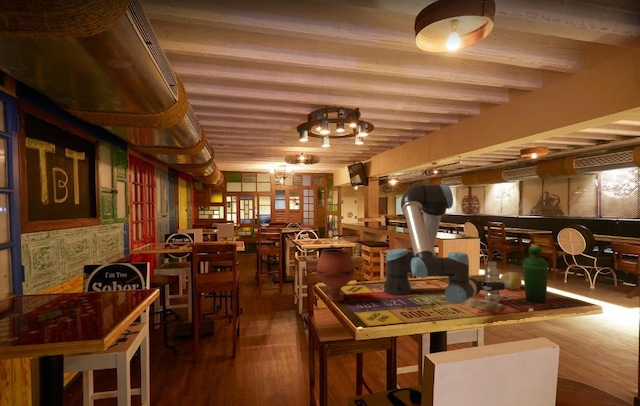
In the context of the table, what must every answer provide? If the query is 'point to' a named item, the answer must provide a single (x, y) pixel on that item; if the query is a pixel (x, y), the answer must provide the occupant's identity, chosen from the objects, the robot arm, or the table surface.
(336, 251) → the goblet
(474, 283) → the robot arm
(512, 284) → the fruit
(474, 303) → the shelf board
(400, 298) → the table surface
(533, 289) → the bottle
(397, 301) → the table surface
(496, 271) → the plastic bottle
